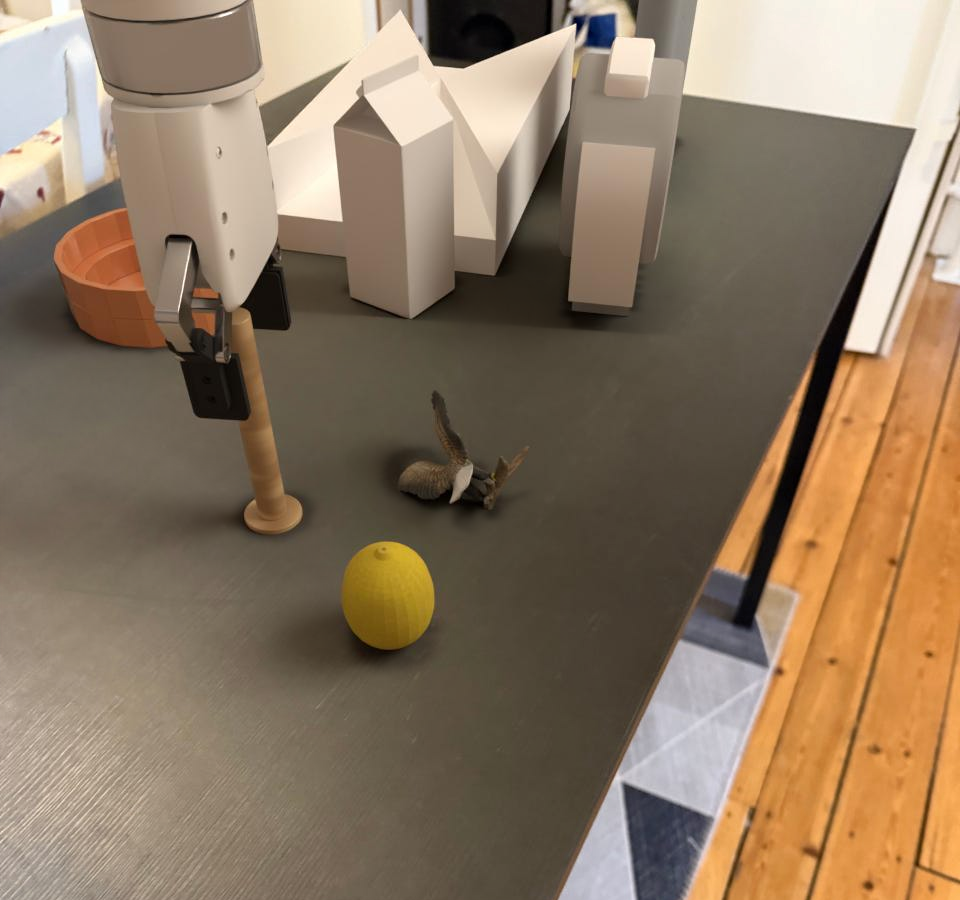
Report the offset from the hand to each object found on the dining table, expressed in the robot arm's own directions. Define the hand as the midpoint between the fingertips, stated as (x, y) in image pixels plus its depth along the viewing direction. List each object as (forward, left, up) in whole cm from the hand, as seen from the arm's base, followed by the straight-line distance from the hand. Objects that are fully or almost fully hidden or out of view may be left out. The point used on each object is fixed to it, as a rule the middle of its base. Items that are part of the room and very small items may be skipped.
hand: (246, 369), depth 56 cm
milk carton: (+4, +33, -13) cm, 36 cm away
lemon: (+10, -10, -13) cm, 19 cm away
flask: (+27, +64, -13) cm, 71 cm away
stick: (0, 0, -13) cm, 13 cm away
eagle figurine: (+12, +5, -13) cm, 18 cm away
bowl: (-17, +28, -13) cm, 35 cm away
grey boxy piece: (+23, +37, -13) cm, 45 cm away
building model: (+4, +62, -13) cm, 63 cm away
